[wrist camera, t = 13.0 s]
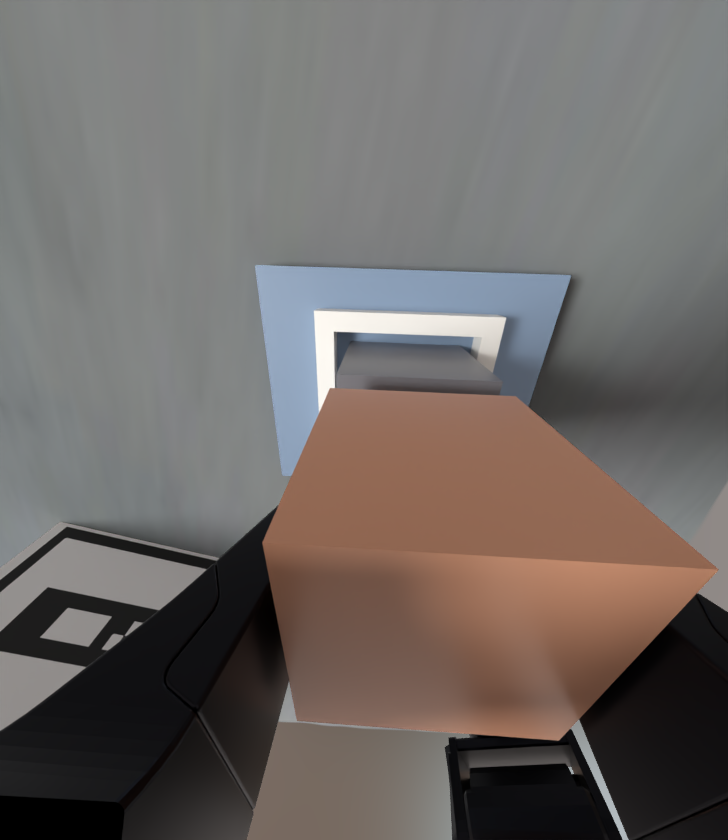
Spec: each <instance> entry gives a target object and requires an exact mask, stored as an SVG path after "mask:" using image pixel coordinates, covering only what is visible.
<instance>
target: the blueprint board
mask: <svg viewBox="0 0 728 840" xmlns="http://www.w3.org/2000/svg"><path fill="white" fill-rule="evenodd" d="M255 269H256V277H257V285H258V292H259V300H260V308H261V315H262V323H263V331H264V338H265V346H266V354H267V361H268V369H269V377H270V384H271V392H272V400H273V408H274V415H275V423H276V431H277V438H278V446H279V454H280V461H281V469H282V475H284V476H292V474H293V471H294V469H295V467H296V465H297V462H298V460H299V458H300V455H301V453H302V451H303V449H304V446H305V444H306V442H307V439H308V437H309V435H310V433H311V430H312V428H313V426H314V423H315V421H316V419H317V417H318V414H319V412H320V410H321V407H322V405H323V403H324V401H325V398H326V396H327V394H328V391H329V389H330V388H337V376H336V374H337V372H338V370H339V367H340V365H341V363H342V360H343V358H344V356H345V353H346V351H347V349H348V346H349V344H350V342H351V341H361V342H386V343H410V344H435V345H459V346H461V347H462V348H463V349H464V350H466V351H467V352H468V353H469V354H470V355H472V356H473V357H474V358H475V359H476V360H478V361H479V362H480V363H481V364H482V365H484V366H485V367H486V368H487V369H488V370H490V371H491V372H492V373H493V374H494V375H496V376H497V377H498V378H499V379H500V380H502V381H503V384H502V388H501V391H500V396H516V397H517V398H518V399H520V400H521V401H522V402H523V403H524V404H525V405H527V406H528V407H529V404H530V401H531V398H532V394H533V391H534V388H535V385H536V382H537V379H538V376H539V373H540V370H541V367H542V364H543V361H544V358H545V355H546V352H547V348H548V345H549V342H550V339H551V336H552V333H553V330H554V327H555V324H556V321H557V318H558V315H559V312H560V309H561V306H562V302H563V299H564V296H565V293H566V290H567V287H568V284H569V281H570V278H571V275H550V274H519V273H488V272H456V271H425V270H394V269H362V268H331V267H300V266H269V265H255Z"/></svg>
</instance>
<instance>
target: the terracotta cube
mask: <svg viewBox="0 0 728 840" xmlns="http://www.w3.org/2000/svg"><path fill="white" fill-rule="evenodd" d="M262 544H263V549H264V554H265V559H266V564H267V569H268V575H269V580H270V585H271V590H272V595H273V600H274V605H275V610H276V616H277V621H278V626H279V631H280V636H281V641H282V646H283V651H284V657H285V662H286V667H287V672H288V677H289V682H290V687H291V692H292V698H293V703H294V708H295V713H296V718H297V721H306V722H319V723H332V724H345V725H358V726H372V727H385V728H398V729H411V730H425V731H438V732H451V733H464V734H477V735H491V736H504V737H517V738H530V739H544V740H557V741H559V740H560V739H561V738H562V737H563V736H564V735H565V734H566V733H567V731H568V730H569V729H570V728H571V727H572V726H573V725H574V724H575V723H576V722H577V721H578V720H579V719H580V718H581V716H582V715H583V714H584V713H585V712H586V711H587V710H588V709H589V708H590V707H591V706H592V705H593V704H594V703H595V702H596V700H597V699H598V698H599V697H600V696H601V695H602V694H603V693H604V692H605V691H606V690H607V689H608V688H609V687H610V685H611V684H612V683H613V682H614V681H615V680H616V679H617V678H618V677H619V676H620V675H621V674H622V673H623V672H624V671H625V669H626V668H627V667H628V666H629V665H630V664H631V663H632V662H633V661H634V660H635V659H636V658H637V657H638V656H639V654H640V653H641V652H642V651H643V650H644V649H645V648H646V647H647V646H648V645H649V644H650V643H651V642H652V641H653V640H654V638H655V637H656V636H657V635H658V634H659V633H660V632H661V631H662V630H663V629H664V628H665V627H666V626H667V625H668V623H669V622H670V621H671V620H672V619H673V618H674V617H675V616H676V615H677V614H678V613H679V612H680V611H681V610H682V609H683V607H684V606H685V605H686V604H687V603H688V602H689V601H690V600H691V599H692V598H693V597H694V596H695V595H696V594H697V592H698V591H699V590H700V589H701V588H702V587H703V586H704V585H705V584H706V583H707V582H708V581H709V580H710V578H712V576H713V575H714V574H715V573H716V572H717V571H718V569H717V568H716V567H715V566H714V565H713V564H712V563H710V562H709V561H708V560H707V559H706V558H704V557H703V556H702V555H701V554H700V553H699V552H697V551H696V550H695V549H694V548H693V547H692V546H690V545H689V544H688V543H687V542H686V541H685V540H683V539H682V538H681V537H680V536H679V535H678V534H676V533H675V532H674V531H673V530H672V529H671V528H669V527H668V526H667V525H666V524H665V523H664V522H662V521H661V520H660V519H659V518H658V517H657V516H655V515H654V514H653V513H652V512H651V511H650V510H648V509H647V508H646V507H645V506H644V505H642V504H641V503H640V502H639V501H638V500H637V499H635V498H634V497H633V496H632V495H631V494H630V493H628V492H627V491H626V490H625V489H624V488H623V487H621V486H620V485H619V484H618V483H617V482H616V481H614V480H613V479H612V478H611V477H610V476H609V475H607V474H606V473H605V472H604V471H603V470H602V469H600V468H599V467H598V466H597V465H596V464H595V463H593V462H592V461H591V460H590V459H589V458H587V457H586V456H585V455H584V454H583V453H582V452H580V451H579V450H578V449H577V448H576V447H575V446H573V445H572V444H571V443H570V442H569V441H568V440H566V439H565V438H564V437H563V436H562V435H561V434H559V433H558V432H557V431H556V430H555V429H554V428H552V427H551V426H550V425H549V424H548V423H547V422H545V421H544V420H543V419H542V418H541V417H540V416H538V415H537V414H536V413H535V412H534V411H532V410H531V409H530V408H529V407H528V406H527V405H525V404H524V403H523V402H522V401H521V400H520V399H518V398H517V397H516V396H500V395H477V394H454V393H432V392H409V391H387V390H364V389H341V388H330V389H329V391H328V394H327V396H326V398H325V401H324V403H323V405H322V407H321V410H320V412H319V414H318V417H317V419H316V421H315V423H314V426H313V428H312V430H311V433H310V435H309V437H308V439H307V442H306V444H305V446H304V449H303V451H302V453H301V455H300V458H299V460H298V462H297V465H296V467H295V469H294V471H293V474H292V476H291V478H290V481H289V483H288V485H287V487H286V490H285V492H284V494H283V497H282V499H281V501H280V503H279V506H278V508H277V510H276V513H275V515H274V517H273V519H272V522H271V524H270V526H269V529H268V531H267V533H266V535H265V538H264V540H263V542H262Z"/></svg>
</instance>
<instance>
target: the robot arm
mask: <svg viewBox="0 0 728 840" xmlns="http://www.w3.org/2000/svg"><path fill="white" fill-rule="evenodd" d="M278 506H279V505H278ZM278 506H277V507H276V508H275V509H274V510H272V511H271V512H270V513H269V514H268V515H267V516H266V517H265V518H264V519H262V520H261V521H260V522H259V523H258V524H257V525H256V526H255V527H254V528H252V529H251V530H250V531H249V532H248V533H247V534H246V535H245V536H244V537H242V538H241V539H240V540H239V541H238V542H237V543H236V544H235V545H234V546H232V547H231V548H230V549H229V550H228V551H227V552H226V553H225V554H224V555H222V556H221V557H220V558H219V559H218V560H217V561H216V564H212V565H211V566H210V567H209V568H208V569H207V570H206V571H204V572H203V573H202V574H201V575H200V576H199V577H198V578H197V579H195V580H194V581H193V582H192V583H191V584H190V585H189V586H187V587H186V588H185V589H184V590H183V591H182V592H180V593H179V594H178V595H177V596H176V597H175V598H173V599H172V600H171V601H170V602H169V603H167V604H166V605H165V606H164V607H162V608H161V609H160V610H159V611H157V612H156V613H155V614H154V615H152V616H151V617H150V618H149V619H147V620H146V621H145V622H144V623H142V624H141V625H140V626H139V627H137V628H136V629H135V630H134V631H132V632H131V633H130V634H128V635H127V636H126V637H125V638H123V639H122V640H121V641H119V642H118V643H117V644H116V645H114V646H113V647H112V648H110V649H109V650H108V651H106V652H105V653H104V654H103V655H101V656H100V657H99V658H97V659H96V660H95V661H94V662H92V663H91V664H90V665H88V666H87V667H86V668H85V669H83V670H82V671H81V672H79V673H78V674H77V675H76V676H74V677H73V678H72V679H70V680H69V681H68V682H67V683H65V684H64V685H63V686H61V687H60V688H59V689H58V690H56V691H55V692H54V693H52V694H51V695H50V696H49V697H47V698H46V699H45V700H43V701H42V702H41V703H39V704H38V705H37V706H35V707H34V708H32V709H31V710H30V711H28V712H27V713H26V714H24V715H23V716H21V717H20V718H18V719H17V720H15V721H14V722H12V723H11V724H10V725H8V726H7V727H5V728H4V729H2V730H0V840H247V836H248V832H249V828H250V824H251V821H252V817H253V809H254V808H255V806H256V801H257V798H258V794H259V791H260V787H261V783H262V779H263V775H264V772H265V768H266V765H267V761H268V757H269V753H270V750H271V746H272V742H273V738H274V734H275V730H276V727H277V723H278V720H279V716H280V712H281V708H282V705H283V701H284V697H285V694H286V690H287V686H288V682H289V677H288V672H287V667H286V662H285V657H284V651H283V646H282V641H281V636H280V631H279V626H278V621H277V616H276V610H275V605H274V600H273V595H272V590H271V585H270V580H269V575H268V569H267V564H266V559H265V554H264V549H263V544H262V542H263V540H264V538H265V535H266V533H267V531H268V529H269V526H270V524H271V522H272V519H273V517H274V515H275V513H276V510H277V508H278ZM579 720H580V723H581V725H582V727H583V730H584V732H585V735H586V737H587V739H588V742H589V744H590V747H591V749H592V752H593V754H594V757H595V759H596V761H597V764H598V766H599V769H600V771H601V774H602V776H603V778H604V781H605V783H606V786H607V788H608V790H609V793H610V795H611V798H612V800H613V803H614V805H615V808H616V810H617V812H618V815H619V817H620V820H621V822H622V825H623V827H624V829H625V832H626V834H627V837H628V839H629V840H728V612H727V611H725V610H723V609H722V608H720V607H719V606H717V605H716V604H714V603H713V602H711V601H709V600H708V599H706V598H705V597H703V596H702V595H700V594H696V595H695V596H694V597H693V598H692V599H691V600H690V601H689V602H688V603H687V604H686V605H685V606H684V607H683V609H682V610H681V611H680V612H679V613H678V614H677V615H676V616H675V617H674V618H673V619H672V620H671V621H670V622H669V623H668V625H667V626H666V627H665V628H664V629H663V630H662V631H661V632H660V633H659V634H658V635H657V636H656V637H655V638H654V640H653V641H652V642H651V643H650V644H649V645H648V646H647V647H646V648H645V649H644V650H643V651H642V652H641V653H640V654H639V656H638V657H637V658H636V659H635V660H634V661H633V662H632V663H631V664H630V665H629V666H628V667H627V668H626V669H625V671H624V672H623V673H622V674H621V675H620V676H619V677H618V678H617V679H616V680H615V681H614V682H613V683H612V684H611V685H610V687H609V688H608V689H607V690H606V691H605V692H604V693H603V694H602V695H601V696H600V697H599V698H598V699H597V700H596V702H595V703H594V704H593V705H592V706H591V707H590V708H589V709H588V710H587V711H586V712H585V713H584V714H583V715H582V716H581V718H580V719H579ZM469 735H470V738H461V739H456V737H450V738H449V745H448V746H446V747H445V752H446V758H447V766H448V772H449V782H450V799H451V821H452V840H622V837H621V835H620V833H619V831H618V828H617V826H616V824H615V822H614V820H613V817H612V815H611V813H610V811H609V809H608V807H607V805H606V802H605V800H604V798H603V796H602V794H601V792H600V789H599V787H598V785H597V783H596V781H595V779H594V777H593V774H592V772H591V770H590V768H589V766H588V764H587V762H586V759H585V757H584V755H583V753H582V751H581V749H580V747H579V745H578V742H577V740H576V738H575V736H574V734H573V731H572V730H571V729H569V730H568V731H567V733H566V734H565V735H564V736H563V737H562V738H561V739H560V740H559V741H557V740H544V739H530V738H517V737H504V736H491V735H477V734H469ZM568 767H572V770H573V772H574V774H571V772H570V770H569V768H568Z"/></svg>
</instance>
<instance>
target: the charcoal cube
mask: <svg viewBox="0 0 728 840" xmlns="http://www.w3.org/2000/svg"><path fill="white" fill-rule="evenodd" d="M336 376H337V388H341V389H364V390H387V391H409V392H432V393H454V394H477V395H500V391H501V388H502V384H503V381H502V380H500V379H499V378H498V377H497V376H496V375H494V374H493V373H492V372H491V371H490V370H488V369H487V368H486V367H485V366H484V365H482V364H481V363H480V362H479V361H478V360H476V359H475V358H474V357H473V356H472V355H470V354H469V353H468V352H467V351H466V350H464V349H463V348H462V347H461V346H459V345H435V344H410V343H386V342H361V341H351V342H350V344H349V346H348V349H347V351H346V353H345V356H344V358H343V360H342V363H341V365H340V367H339V370H338V372H337V374H336Z"/></svg>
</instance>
